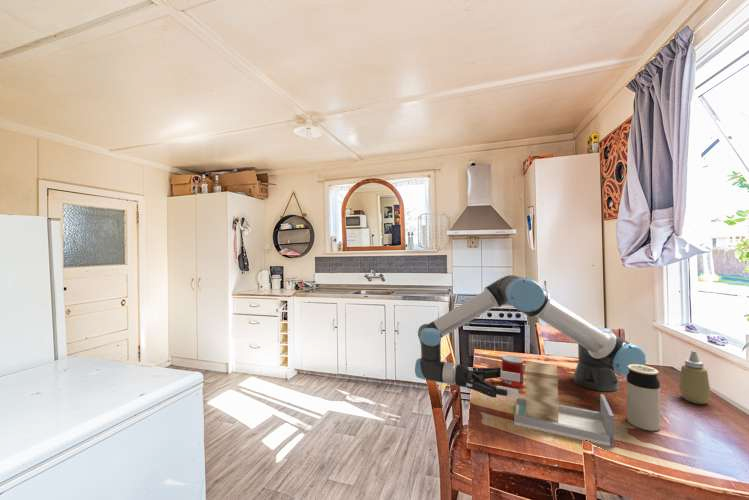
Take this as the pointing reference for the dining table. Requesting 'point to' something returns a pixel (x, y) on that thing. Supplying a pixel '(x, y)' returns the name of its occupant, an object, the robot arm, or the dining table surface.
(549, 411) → the wooden block
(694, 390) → the squeeze bottle
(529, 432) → the dining table surface
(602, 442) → the bay
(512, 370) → the canned food
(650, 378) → the travel mug
